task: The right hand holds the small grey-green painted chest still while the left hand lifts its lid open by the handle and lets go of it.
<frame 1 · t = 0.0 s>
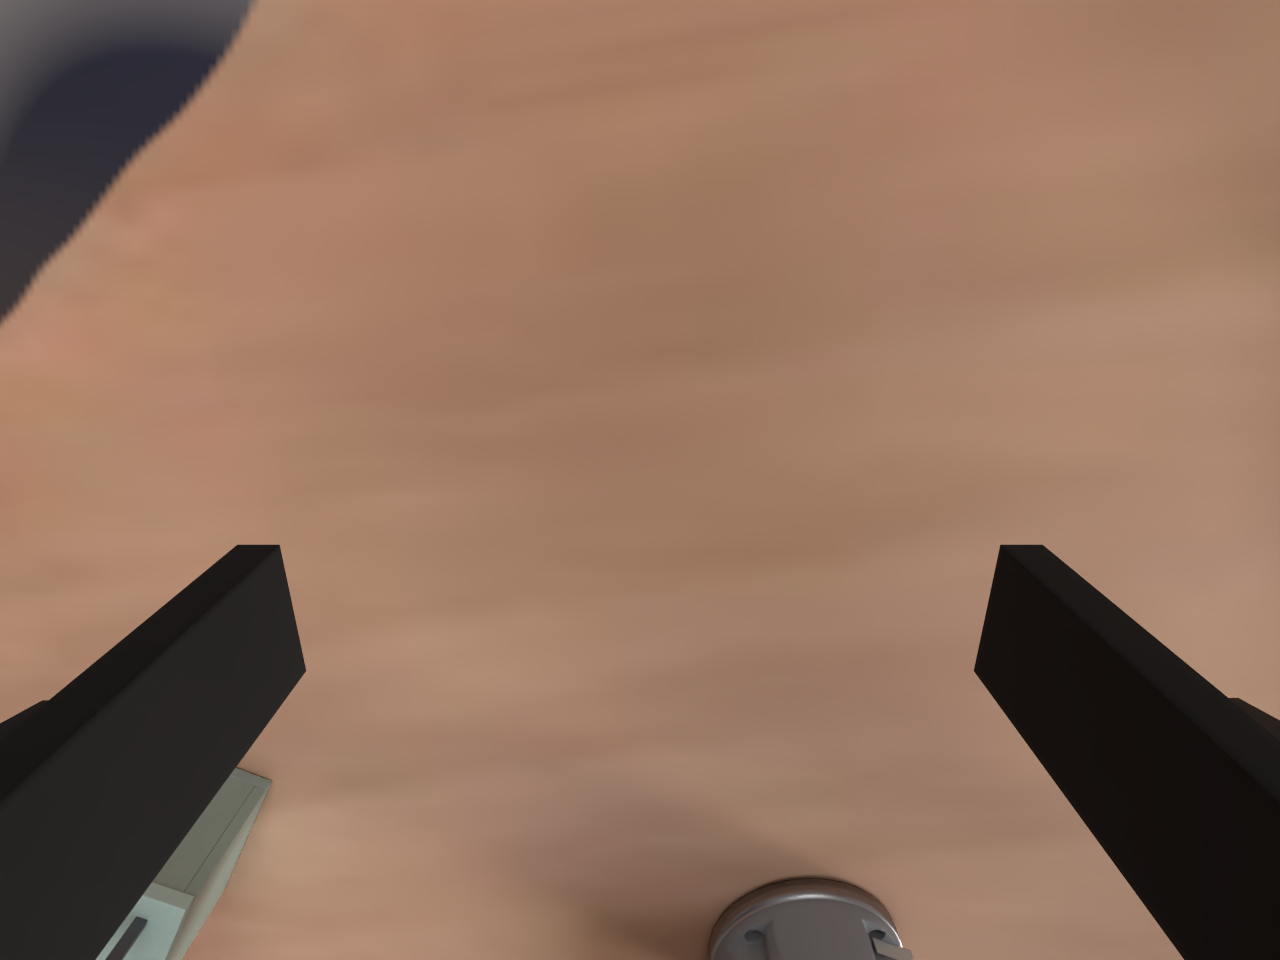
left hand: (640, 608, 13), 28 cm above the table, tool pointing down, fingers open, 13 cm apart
chest: (181, 814, 52), on the table
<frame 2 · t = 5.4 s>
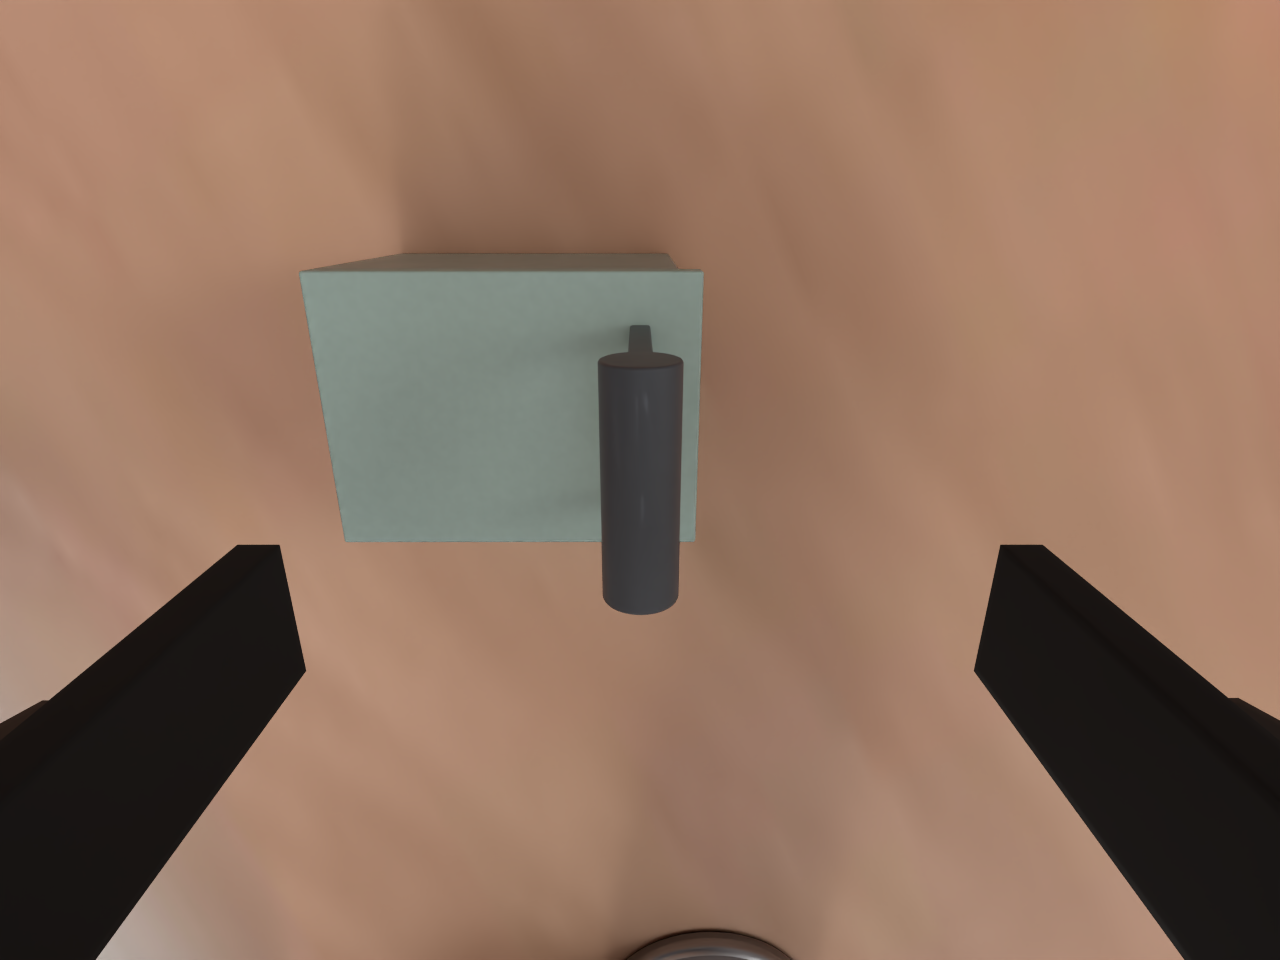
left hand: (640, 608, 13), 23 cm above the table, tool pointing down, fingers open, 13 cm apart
chest: (540, 358, 35), on the table
lid: (492, 446, 22), point 14 cm above the table, hinge at 0.0°
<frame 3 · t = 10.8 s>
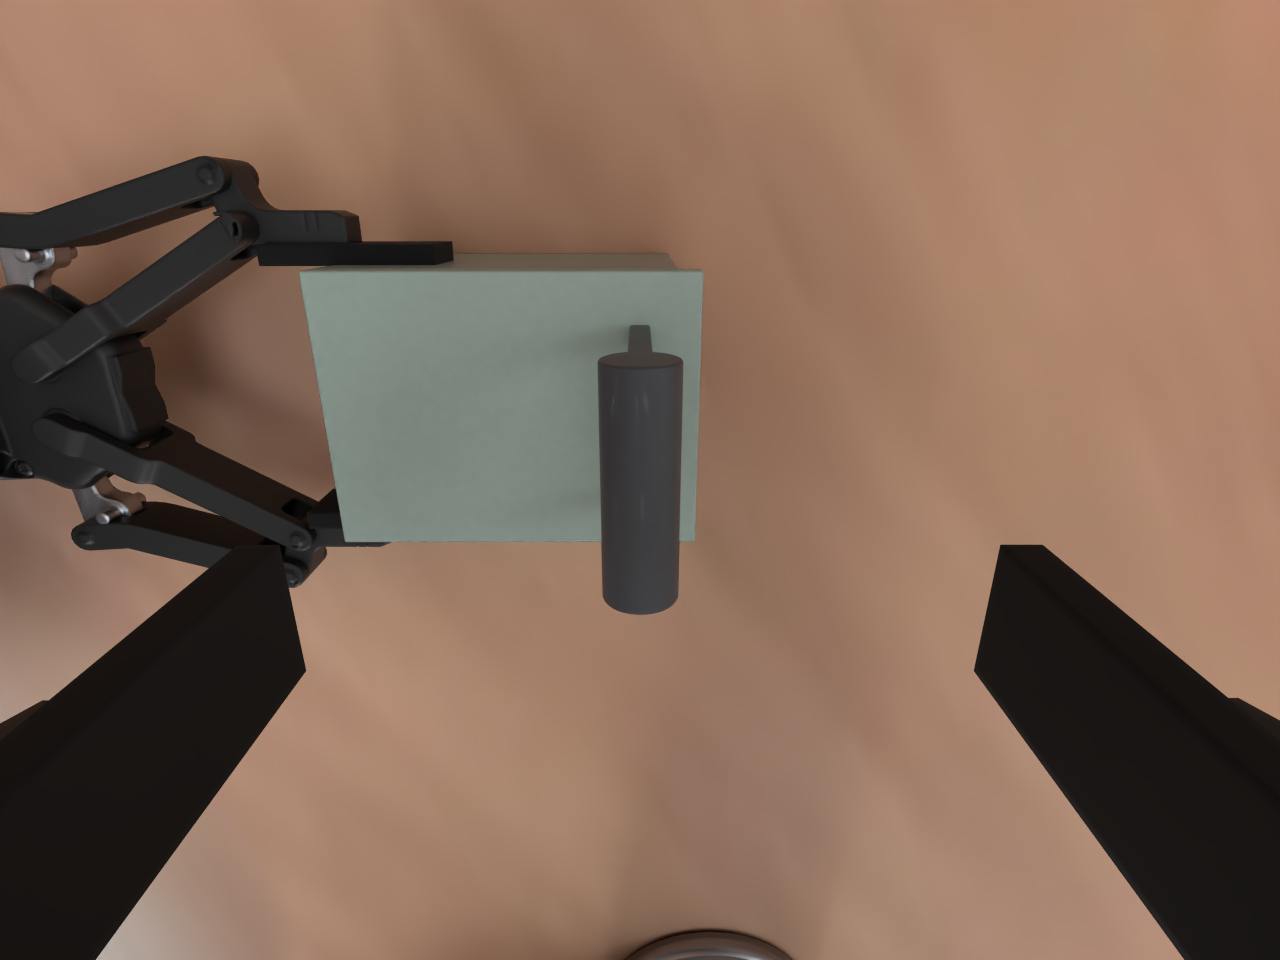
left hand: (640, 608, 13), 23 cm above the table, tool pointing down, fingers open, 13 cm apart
right hand: (457, 389, 28), fingers closed on chest, 10 cm apart
chest: (539, 358, 35), on the table, touching right hand
lid: (492, 446, 22), point 14 cm above the table, hinge at 0.0°
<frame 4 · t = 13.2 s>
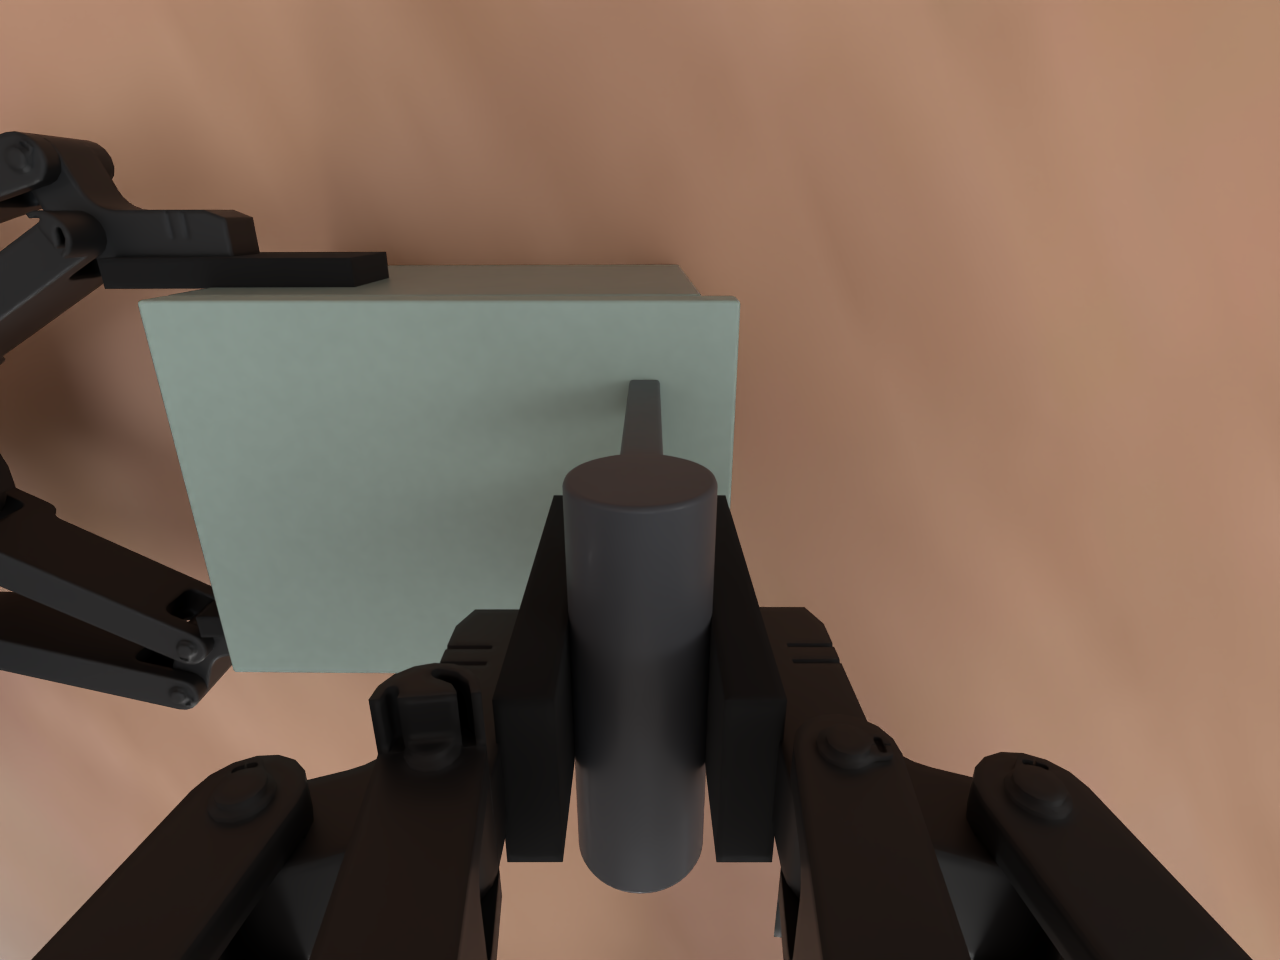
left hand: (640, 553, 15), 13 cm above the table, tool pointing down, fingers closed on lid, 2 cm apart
chest: (515, 398, 27), on the table, touching right hand
lid: (414, 574, 14), point 14 cm above the table, hinge at 1.1°, touching left hand
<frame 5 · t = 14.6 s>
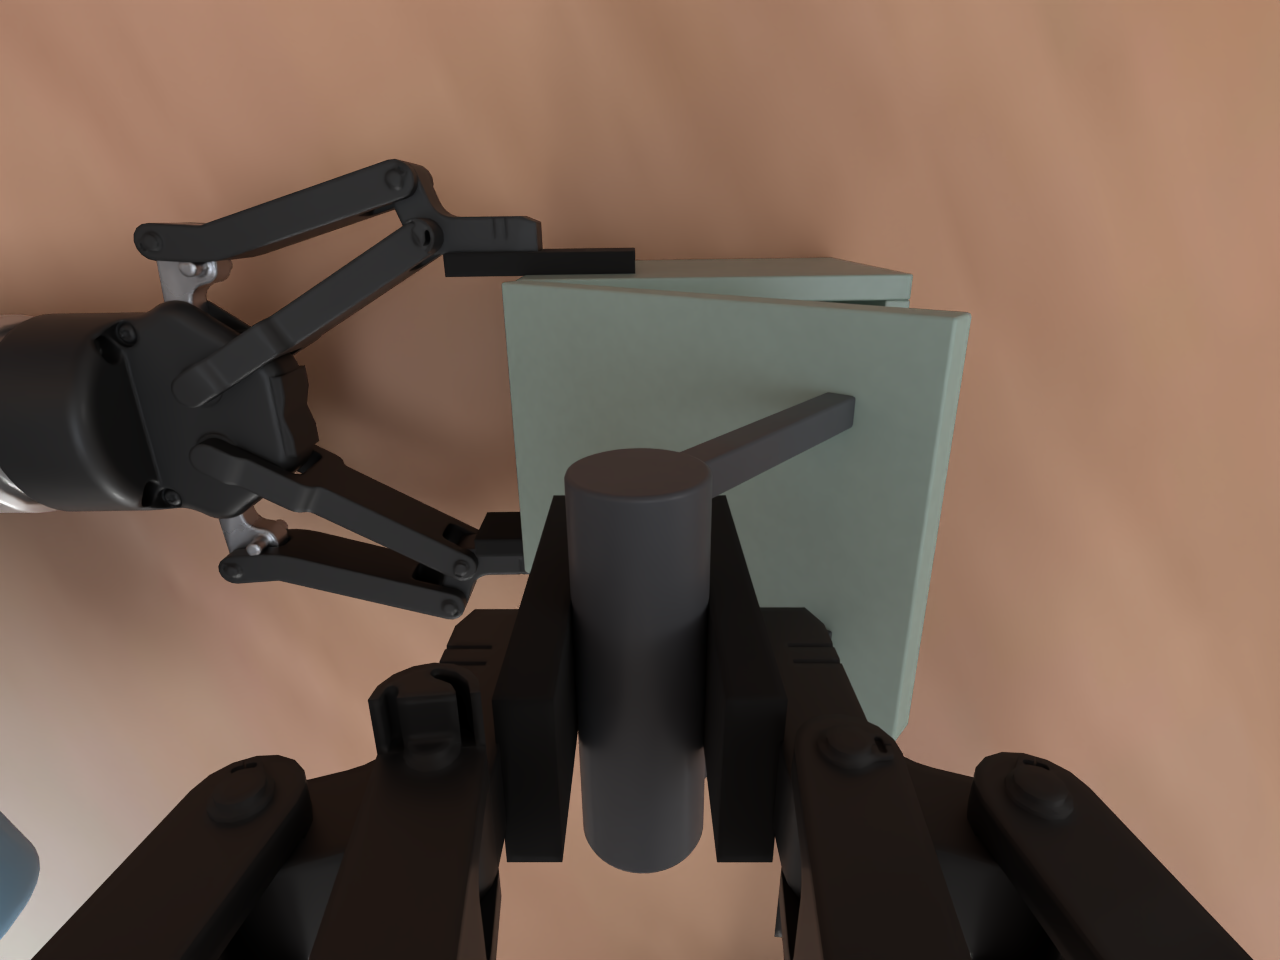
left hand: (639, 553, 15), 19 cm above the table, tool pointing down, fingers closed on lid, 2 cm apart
right hand: (637, 405, 27), fingers closed on chest, 10 cm apart
chest: (689, 369, 33), on the table, touching right hand
lid: (583, 525, 16), point 17 cm above the table, hinge at 41.6°, touching left hand
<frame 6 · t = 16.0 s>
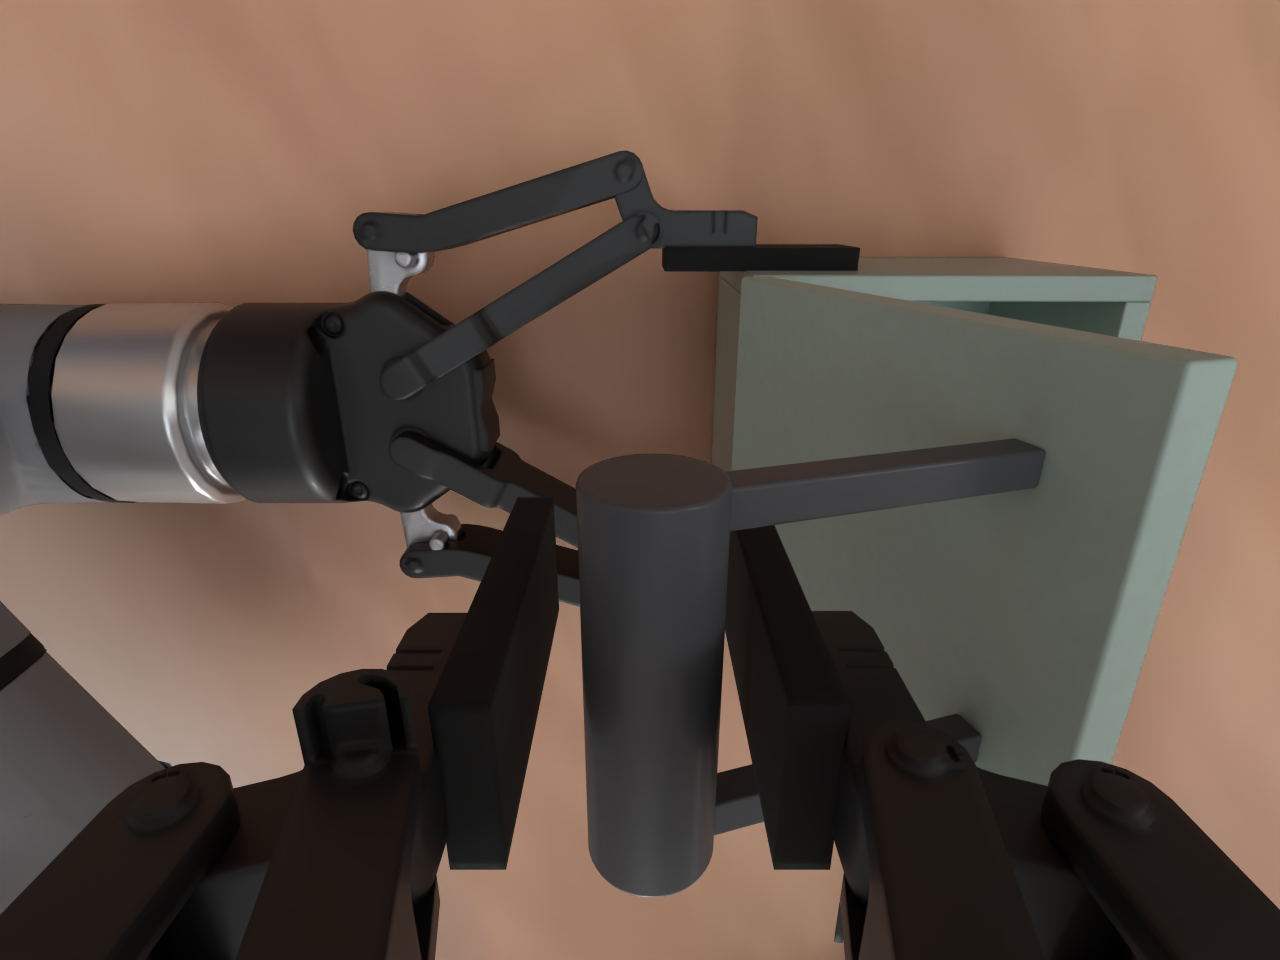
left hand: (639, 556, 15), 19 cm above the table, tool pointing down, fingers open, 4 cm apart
right hand: (832, 404, 26), fingers closed on chest, 10 cm apart
chest: (850, 369, 32), on the table, touching right hand
lid: (722, 531, 16), point 18 cm above the table, hinge at 72.2°
when the right hand's fingers open (6 cm above the table, at t = 20.1 s): chest stays where it is, on the table.
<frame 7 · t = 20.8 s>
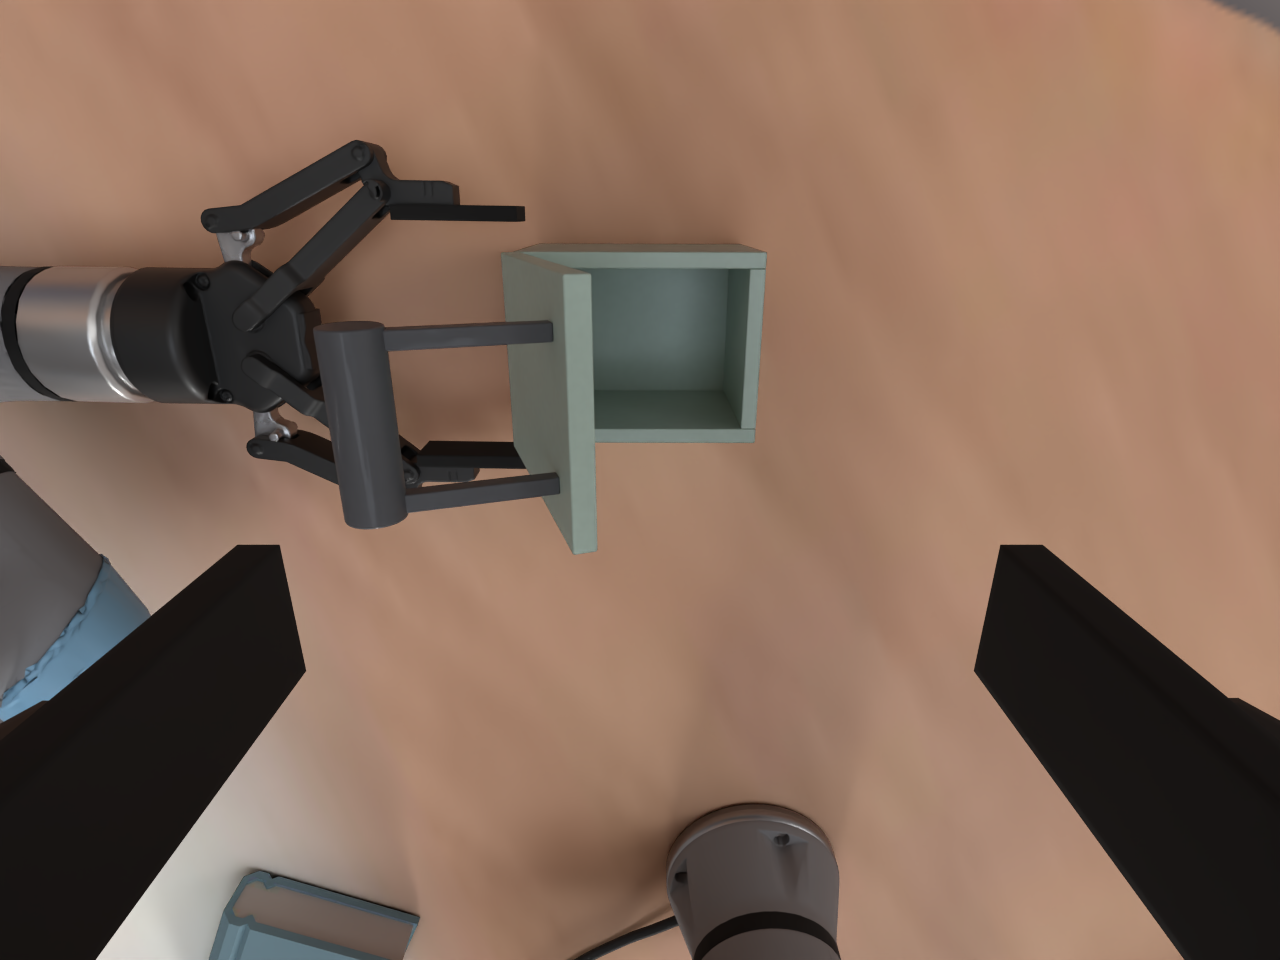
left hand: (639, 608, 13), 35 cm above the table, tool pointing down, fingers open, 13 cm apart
right hand: (527, 342, 39), fingers open, 13 cm apart
chest: (639, 324, 45), on the table
lid: (450, 388, 29), point 18 cm above the table, hinge at 71.0°
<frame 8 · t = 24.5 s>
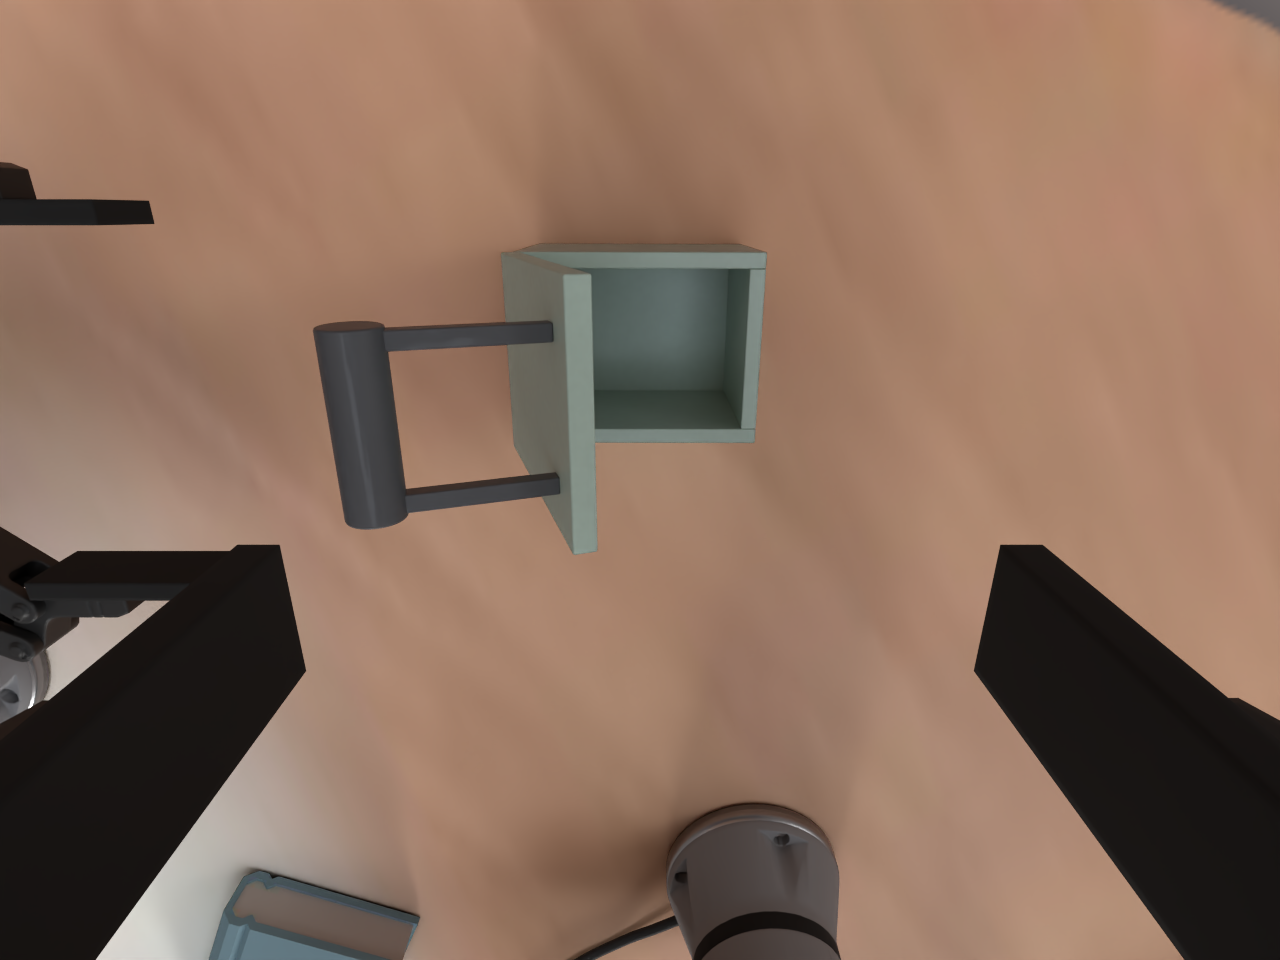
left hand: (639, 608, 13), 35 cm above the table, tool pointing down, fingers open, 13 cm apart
chest: (639, 324, 45), on the table
lid: (451, 388, 29), point 18 cm above the table, hinge at 71.0°
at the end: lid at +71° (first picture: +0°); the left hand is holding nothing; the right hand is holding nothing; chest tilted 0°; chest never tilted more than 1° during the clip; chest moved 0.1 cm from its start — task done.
